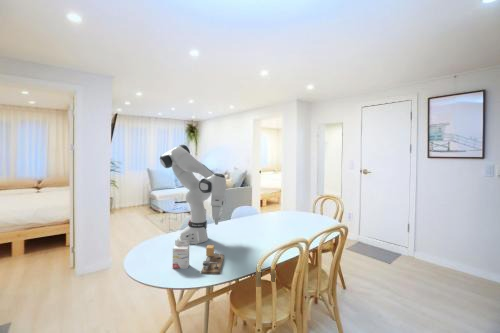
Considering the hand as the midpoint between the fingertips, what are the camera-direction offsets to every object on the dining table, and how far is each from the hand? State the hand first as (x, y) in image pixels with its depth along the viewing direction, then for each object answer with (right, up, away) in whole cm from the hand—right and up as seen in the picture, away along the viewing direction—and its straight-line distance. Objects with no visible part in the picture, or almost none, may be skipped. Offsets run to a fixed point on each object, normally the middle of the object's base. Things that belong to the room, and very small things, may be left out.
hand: (217, 221), depth 153 cm
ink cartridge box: (-19, -23, -12) cm, 33 cm away
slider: (-2, -21, -3) cm, 21 cm away
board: (-1, -23, -8) cm, 24 cm away
